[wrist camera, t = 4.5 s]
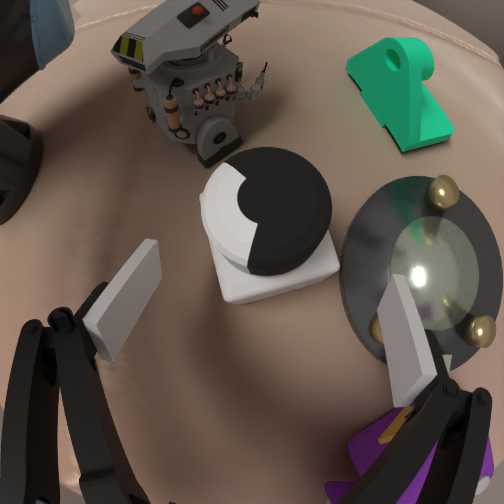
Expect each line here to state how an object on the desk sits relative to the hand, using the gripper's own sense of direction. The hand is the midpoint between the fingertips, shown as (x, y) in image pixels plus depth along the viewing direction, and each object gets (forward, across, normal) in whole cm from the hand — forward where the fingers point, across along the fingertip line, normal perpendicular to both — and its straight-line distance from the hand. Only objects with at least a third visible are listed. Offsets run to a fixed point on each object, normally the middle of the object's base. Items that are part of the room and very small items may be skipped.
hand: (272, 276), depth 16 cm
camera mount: (+21, +12, +9) cm, 26 cm away
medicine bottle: (+8, -1, -4) cm, 9 cm away
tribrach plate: (+8, +14, -4) cm, 17 cm away
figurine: (+17, -8, +6) cm, 19 cm away
